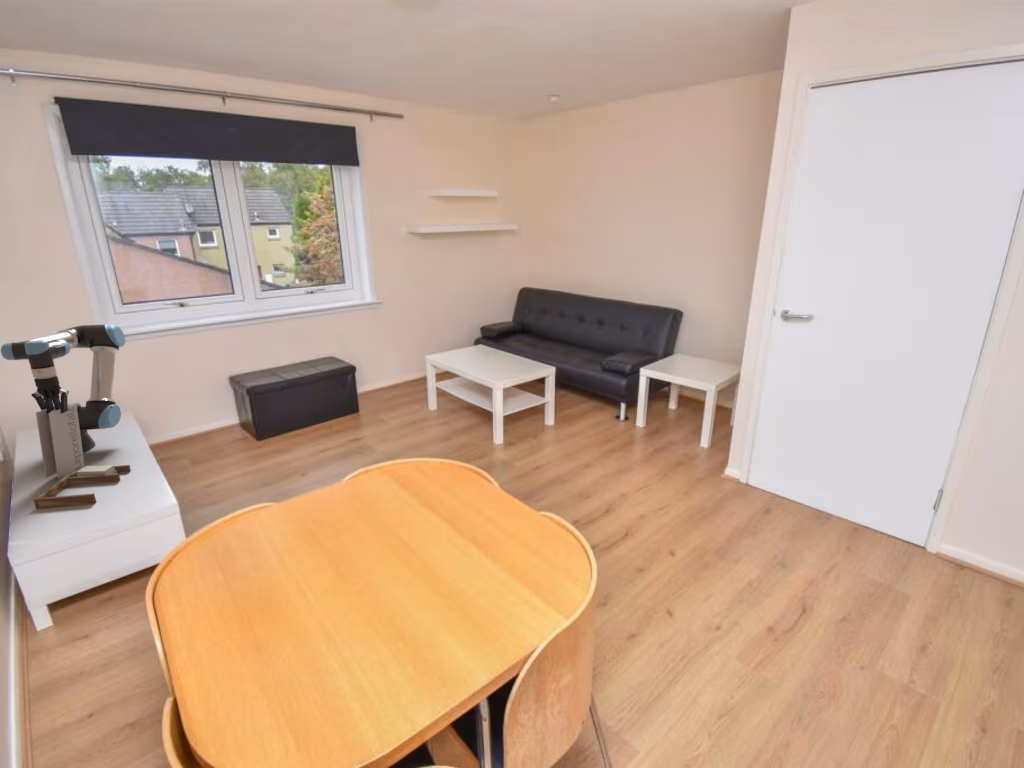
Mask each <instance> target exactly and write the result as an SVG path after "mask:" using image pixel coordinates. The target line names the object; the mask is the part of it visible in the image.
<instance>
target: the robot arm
mask: <svg viewBox="0 0 1024 768" xmlns="http://www.w3.org/2000/svg"><path fill="white" fill-rule="evenodd" d="M125 344H126V337H125V334H124V331H123V330H122V328H121V327H120V326H119V325H117V324H110V323H108V324H107V323H105V324H84V325H77V326H73V327H69V328H65V329H62V330H59V331H57V333H53V334H49V335H46V336H40V337H36V338H31V339H28V340H24V341H19V342H18V341H17V342H14V341H13V342H6V343H4V344H2V346H0V347H1V348H0V353H1V356H2V357H3V358H4V359H5V360H8V361H22V360H23V361H25V360H28V363H29V366H30V371H31V374H32V377H33V378H34V379H33V380H34V384H35V387H36V391H35V392H33V393H31V394H30V395H31V397H32V398H34V400H35V401H36V403H37V405H38V407H39V408H40V411H42V410H45V409H47V412H46V413H47V414H48V413H50V412H51V411H53V410H54V407H55V410H56V411H57V410H60V409H61V414H62V413H64V412H66V411H68V406H71V405H74V404H76V405H77V412H78V420H79V427H80V435H81V443H82V450H83V453H86V452H88V451H91V450H92V449H93V448H94V449H95V447H96V441H95V439H93V438H92V436H91V435H90V433H89V432H88V431H91V430H106V429H112V428H115V427H116V426H117V425H118V424H119V422H120V420H121V417H122V410H121V408H120V406H119V405H117V402H116V400H114V399H113V396H114V394H113V393H114V377H115V359H116V354H117V353H119V352H120V348H122V347H124V346H125ZM71 349H89V350H90V351H91V352H92V353H93V355H92V369H91V382H90V383H91V384H90V395H89V396H90V397H89V399H88V400H86V401H85V405H84V406H82V405H81V404H80V402H79V403H78V402H75V403H69V402H68V395H69V393H70V391H69V390H64V389H62V387H61V386H60V381H59V377H58V375H57V369H56V366H55V362H54V360H56V359H59V358H63V357H65V356H66V355H68V354H69V353H70V352H71ZM68 403H69V404H68ZM48 415H49V414H48Z"/></svg>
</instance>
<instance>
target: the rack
mask: <svg viewBox="0 0 1024 768" xmlns="http://www.w3.org/2000/svg"><path fill="white" fill-rule="evenodd" d="M114 468H115V470H117V472H118V473H117V474H105V475H93V476H80V477H78V476H77V473H76V472H77V471H79V470H80V469H81V468H79V469H77V470H75V471H73V472H71V473H69V475H68V476H67V475H66V476H65V478H63V479H61V480H60V481H59V482H57V483H56V484H55V485H53V486H52V487H50V488H49V489H47V490H45V491H44V492H43V493H41V494H40V495H38V497H36V498H34V499H33V503H34V506H35V509H36V510H40V509H50V508H51V509H52V508H60V507H71V506H72V507H74V506H83V505H84V506H85V505H93V504H94V505H95V504H96V503H97V499H96V496H95V493H85V494H83V493H82V494H81V493H80V494H72V495H61V496H58V495H59V494H60V493H61V492H62V491H64V490H65V489H66V488H67V487H68V486H79V485H80V484H82V485H92V484H93V483H94V484H104V483H117V482H121V477H120V476H121V475H120V473H130V472H131V471H132V470H131V465H130V464H123V465H114ZM57 494H58V495H57Z"/></svg>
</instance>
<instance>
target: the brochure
mask: <svg viewBox="0 0 1024 768" xmlns="http://www.w3.org/2000/svg"><path fill="white" fill-rule="evenodd" d="M46 412H47V409H45V410H39V411H36V412H35V417H36V422H37V423H36V424H37V430H38V436H39V442H40V449H41V455H42V463H43V467H44V468H43V470H44V475H45V478H46V479H47V478H49V477H51V476H53V475H55V474H57V479H61V478H63V477H66V476H67V475H68V474H69V475H70V474H72V473H73V472H74V471H76V470H77V469H82V468H84V467H85V460H84V459H85V457H84V452H83V450H82V443H81V435H80V427H79V420H78V412H77V405H76V404H74V405H71V406H68V411H66V412H64V413H62V414H61V409H60V410H57V411H56V410H55V407H54V410H53V411H51V412H50V413H48V414H49V415H48V414H47V413H46Z"/></svg>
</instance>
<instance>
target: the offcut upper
mask: <svg viewBox="0 0 1024 768" xmlns="http://www.w3.org/2000/svg"><path fill="white" fill-rule="evenodd" d="M114 466H115V465H111V464H110V465H86V466H83V467H81V468H79V469H80V470H79V471H77V472H76V473H77V476H78V477H80V476H93V475H105V474H112V473H114V472H115V468H114Z"/></svg>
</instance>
